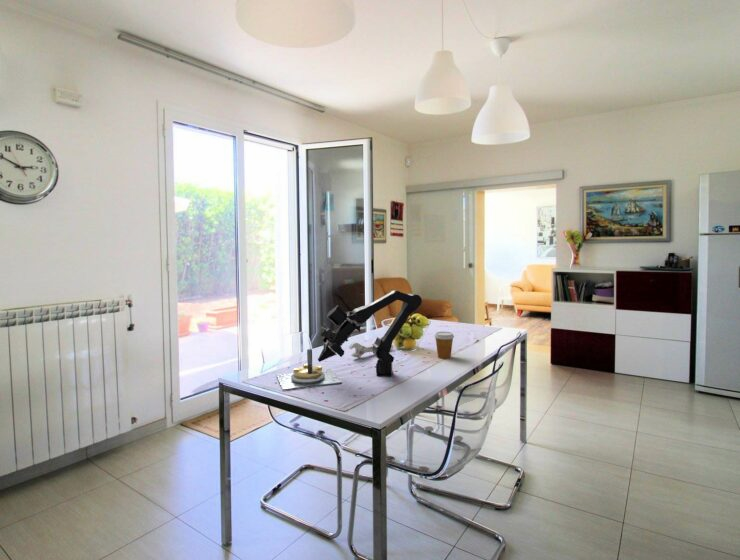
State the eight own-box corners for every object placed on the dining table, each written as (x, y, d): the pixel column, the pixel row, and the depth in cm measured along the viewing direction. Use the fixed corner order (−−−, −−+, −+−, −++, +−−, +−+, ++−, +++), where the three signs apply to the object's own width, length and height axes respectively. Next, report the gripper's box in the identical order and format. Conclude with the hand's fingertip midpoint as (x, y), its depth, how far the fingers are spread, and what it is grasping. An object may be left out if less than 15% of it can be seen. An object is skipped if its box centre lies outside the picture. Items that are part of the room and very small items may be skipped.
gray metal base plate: (330, 370, 195) (329, 365, 195) (341, 383, 176) (341, 378, 176) (276, 376, 187) (276, 371, 187) (282, 390, 169) (282, 385, 168)
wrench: (393, 355, 231) (350, 359, 210) (390, 354, 232) (348, 358, 212) (394, 340, 231) (351, 343, 210) (391, 339, 232) (349, 342, 212)
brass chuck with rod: (325, 371, 187) (325, 343, 185) (317, 379, 175) (316, 350, 174) (299, 369, 189) (298, 343, 188) (289, 378, 177) (288, 349, 176)
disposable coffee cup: (448, 353, 220) (448, 330, 219) (457, 358, 211) (457, 334, 210) (431, 355, 218) (431, 332, 217) (439, 360, 209) (439, 336, 208)
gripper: (325, 316, 188) (300, 343, 185) (336, 324, 170) (309, 354, 168) (342, 333, 191) (318, 359, 188) (355, 342, 174) (329, 371, 171)
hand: (318, 360), depth 179 cm, fingers closed
